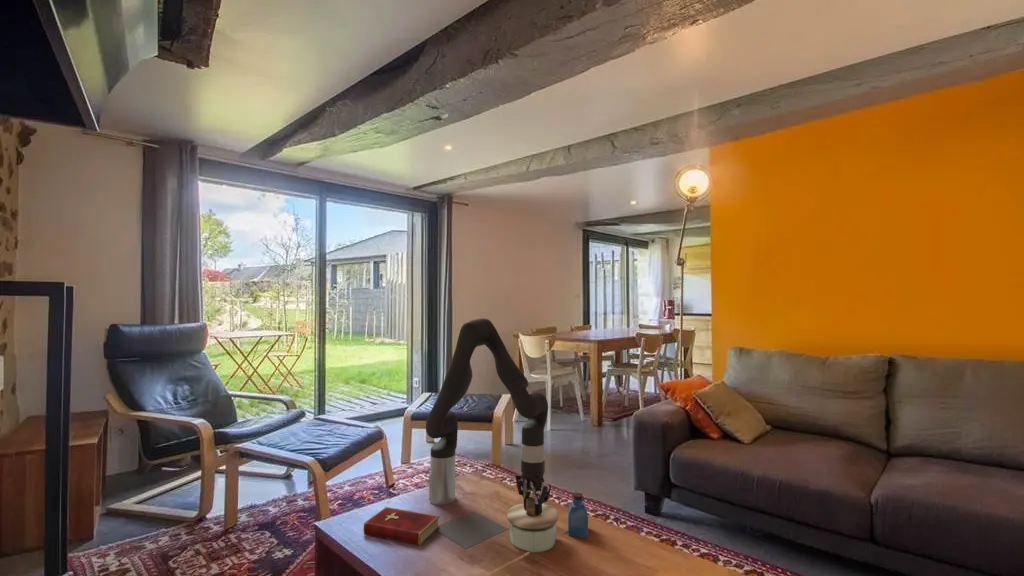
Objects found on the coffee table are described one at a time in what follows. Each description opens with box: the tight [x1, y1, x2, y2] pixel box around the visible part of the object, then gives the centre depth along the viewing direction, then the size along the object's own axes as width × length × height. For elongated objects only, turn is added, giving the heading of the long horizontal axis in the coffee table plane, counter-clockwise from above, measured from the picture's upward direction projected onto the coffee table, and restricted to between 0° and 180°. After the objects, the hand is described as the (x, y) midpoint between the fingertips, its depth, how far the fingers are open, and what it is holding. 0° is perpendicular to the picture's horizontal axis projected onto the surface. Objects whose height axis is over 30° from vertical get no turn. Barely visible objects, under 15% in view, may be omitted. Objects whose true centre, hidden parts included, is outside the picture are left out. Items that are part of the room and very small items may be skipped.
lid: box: [506, 496, 559, 529], centre depth 150 cm, size 16×16×6 cm
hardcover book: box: [363, 506, 440, 547], centre depth 155 cm, size 12×21×4 cm, turn 69°
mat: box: [436, 510, 509, 550], centre depth 157 cm, size 18×18×1 cm
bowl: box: [509, 522, 557, 554], centre depth 150 cm, size 14×14×6 cm
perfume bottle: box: [567, 492, 589, 537], centre depth 156 cm, size 6×6×12 cm
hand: (532, 512), depth 150 cm, fingers closed on lid, 4 cm apart
